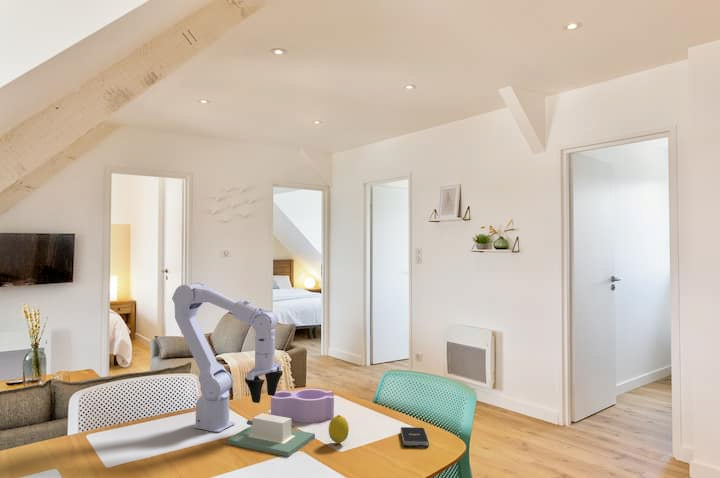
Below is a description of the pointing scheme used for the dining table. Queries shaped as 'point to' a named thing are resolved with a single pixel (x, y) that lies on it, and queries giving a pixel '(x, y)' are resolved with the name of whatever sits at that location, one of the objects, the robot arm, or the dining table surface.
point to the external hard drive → (414, 437)
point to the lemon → (338, 429)
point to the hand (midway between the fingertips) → (263, 398)
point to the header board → (271, 442)
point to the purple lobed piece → (303, 405)
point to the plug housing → (271, 427)
